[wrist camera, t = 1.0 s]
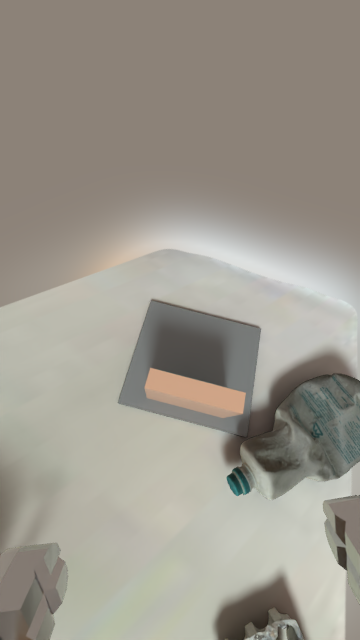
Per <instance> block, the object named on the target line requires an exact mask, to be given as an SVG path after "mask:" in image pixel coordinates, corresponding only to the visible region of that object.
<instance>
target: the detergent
mask: <svg viewBox="0 0 360 640" xmlns="http://www.w3.org/2000/svg"><path fill="white" fill-rule="evenodd" d="M240 456H241V460H242V466H241V467H236V468H234V469H233V470H232V473H231V474H230V475H228V476H227V481H228V484H229V486H230V488H231V490H232V491H233V493H234V494H235V495H236V496H239V495H240V494H242V493H243V495H244V494H245V495H246V494H247V493H249V492H250V491H251V489H252V488H253V487H254V488H256V489H257V490H258V491H259V493H261V494H262V495H263V496H264V497H265V498H267V499H269V500H274V499H276V498H278V497H280V496H281V495H283V494H285V493H286V492H287V491H289V490H290V489H292V488H293V487H294V486H295V485H296V484H298V483H299V482H300V481H301V480H303V479H304V478H305V477H306V478H309V479H312V480H315V481H328V480H333V479H338V478H340V477H341V476H342V475H344V474H345V473H347V472H348V471H349V470H350V468H352V467H353V466H354V465H355V464H356V463H358V462H359V461H360V381H359V380H357V379H355V378H353V377H350V376H347V375H344V374H332V375H323V376H319V377H316V378H313V379H311V380H308V381H306V382H304V383H302V384H300V385H299V386H298V387H296V388H295V389H294V390H293V391H292V393H291V394H290V395H289V396H288V397H287V398H286V399H285V400H284V401H283V402H282V403H281V404H280V406H279V407H278V408H277V410H276V412H275V422H274V427H273V431H272V432H267V433H264V434H261V435H258V436H255V437H252V438H250V439H248V440H246V441H244V442H243V443H242V444H241V447H240Z"/></svg>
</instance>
